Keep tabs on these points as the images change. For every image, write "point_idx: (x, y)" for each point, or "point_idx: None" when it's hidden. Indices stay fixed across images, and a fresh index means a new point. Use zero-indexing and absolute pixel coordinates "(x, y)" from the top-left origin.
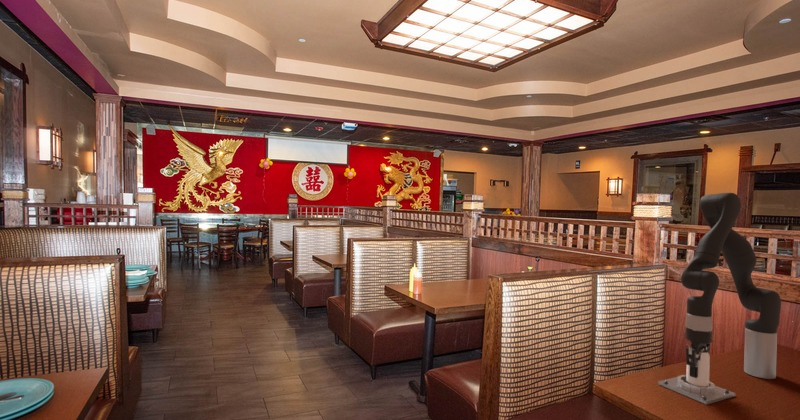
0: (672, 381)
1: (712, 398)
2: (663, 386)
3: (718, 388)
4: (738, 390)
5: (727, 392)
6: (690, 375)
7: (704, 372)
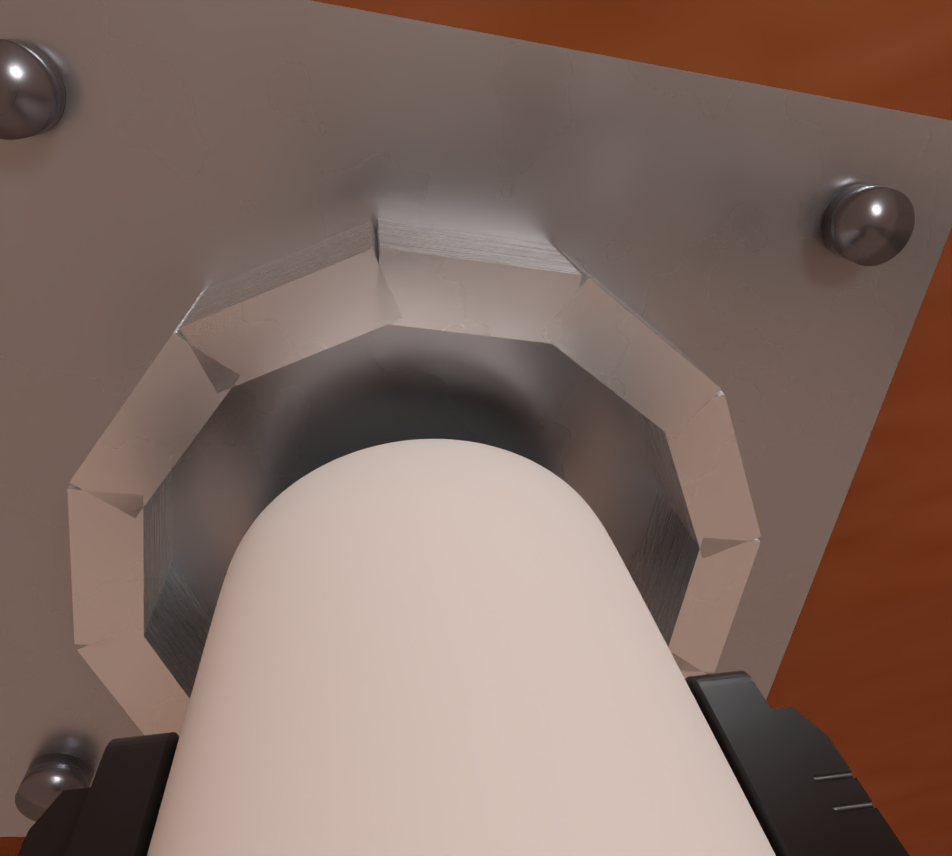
0: (267, 148)
1: None
2: None
3: None
4: (944, 745)
5: None
6: (115, 756)
7: None
